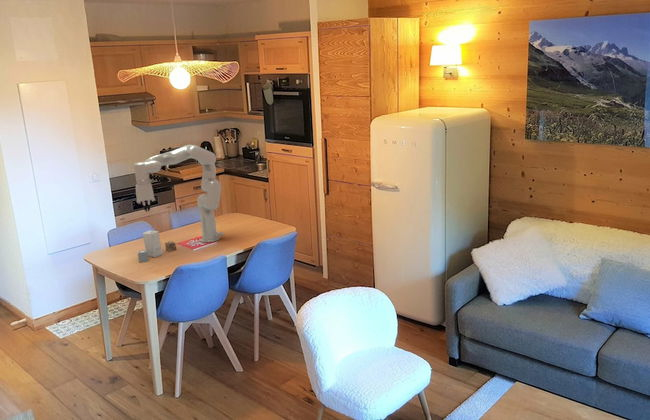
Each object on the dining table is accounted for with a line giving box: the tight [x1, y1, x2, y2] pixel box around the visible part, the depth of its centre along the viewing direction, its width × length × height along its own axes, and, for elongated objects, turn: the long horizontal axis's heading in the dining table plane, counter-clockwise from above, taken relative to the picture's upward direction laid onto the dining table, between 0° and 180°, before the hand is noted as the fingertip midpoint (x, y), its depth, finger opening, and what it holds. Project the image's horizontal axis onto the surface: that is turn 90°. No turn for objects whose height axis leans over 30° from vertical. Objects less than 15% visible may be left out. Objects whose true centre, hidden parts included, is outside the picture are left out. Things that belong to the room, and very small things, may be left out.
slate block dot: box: [137, 249, 149, 263], centre depth 345 cm, size 5×5×6 cm
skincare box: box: [142, 230, 163, 258], centre depth 352 cm, size 8×7×16 cm
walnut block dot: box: [164, 240, 177, 252], centre depth 362 cm, size 5×5×5 cm
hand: (147, 211), depth 347 cm, fingers closed
